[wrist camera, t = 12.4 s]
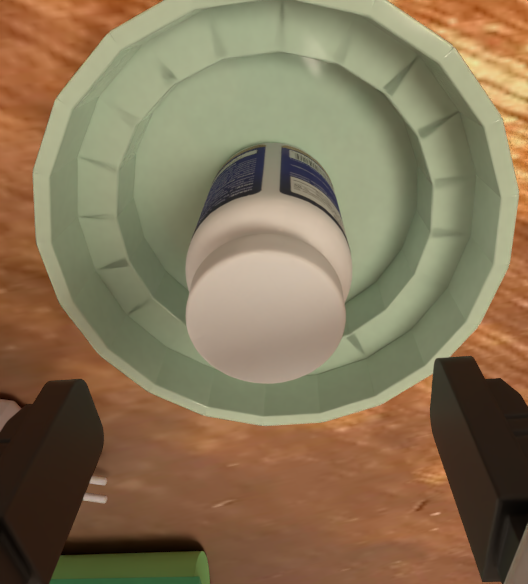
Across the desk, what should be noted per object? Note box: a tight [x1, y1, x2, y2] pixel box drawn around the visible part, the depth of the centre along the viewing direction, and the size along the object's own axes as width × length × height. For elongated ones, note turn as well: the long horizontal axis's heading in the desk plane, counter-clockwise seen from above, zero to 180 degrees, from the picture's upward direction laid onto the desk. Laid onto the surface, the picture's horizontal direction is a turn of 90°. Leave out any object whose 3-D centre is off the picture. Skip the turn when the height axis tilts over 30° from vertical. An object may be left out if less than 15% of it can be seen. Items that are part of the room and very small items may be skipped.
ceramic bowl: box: [33, 0, 519, 426], centre depth 21 cm, size 17×17×6 cm
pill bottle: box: [185, 143, 352, 384], centre depth 19 cm, size 6×6×10 cm
